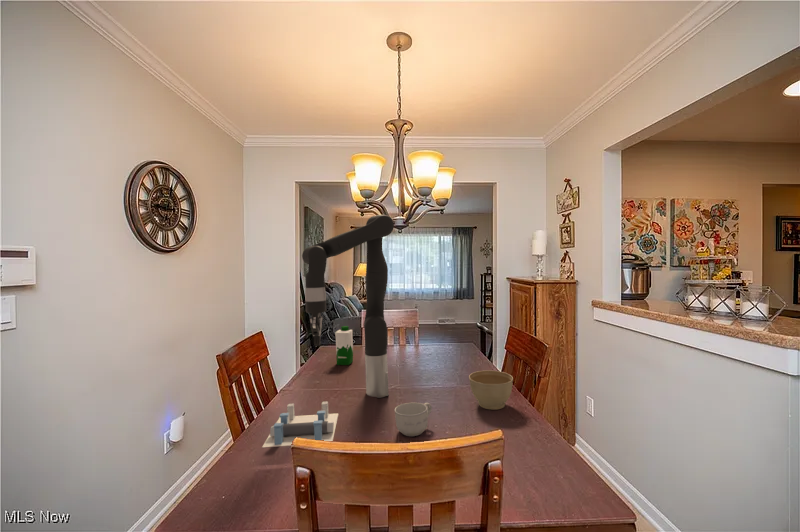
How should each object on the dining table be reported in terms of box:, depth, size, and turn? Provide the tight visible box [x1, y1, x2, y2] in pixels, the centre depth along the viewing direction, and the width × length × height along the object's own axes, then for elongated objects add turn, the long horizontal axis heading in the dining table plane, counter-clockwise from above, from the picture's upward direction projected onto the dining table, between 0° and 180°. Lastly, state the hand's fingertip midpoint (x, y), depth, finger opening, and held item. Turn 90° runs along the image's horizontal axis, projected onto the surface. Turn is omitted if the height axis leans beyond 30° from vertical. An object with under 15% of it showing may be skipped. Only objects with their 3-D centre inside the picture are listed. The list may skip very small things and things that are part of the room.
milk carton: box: [334, 325, 354, 366], centre depth 197 cm, size 9×9×20 cm
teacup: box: [394, 401, 432, 437], centre depth 117 cm, size 14×11×8 cm
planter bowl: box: [468, 369, 514, 411], centre depth 136 cm, size 16×16×11 cm
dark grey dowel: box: [269, 421, 334, 436], centre depth 115 cm, size 20×4×4 cm, turn 95°
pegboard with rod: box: [261, 400, 339, 449], centre depth 119 cm, size 21×21×6 cm
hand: (317, 345), depth 134 cm, fingers closed
